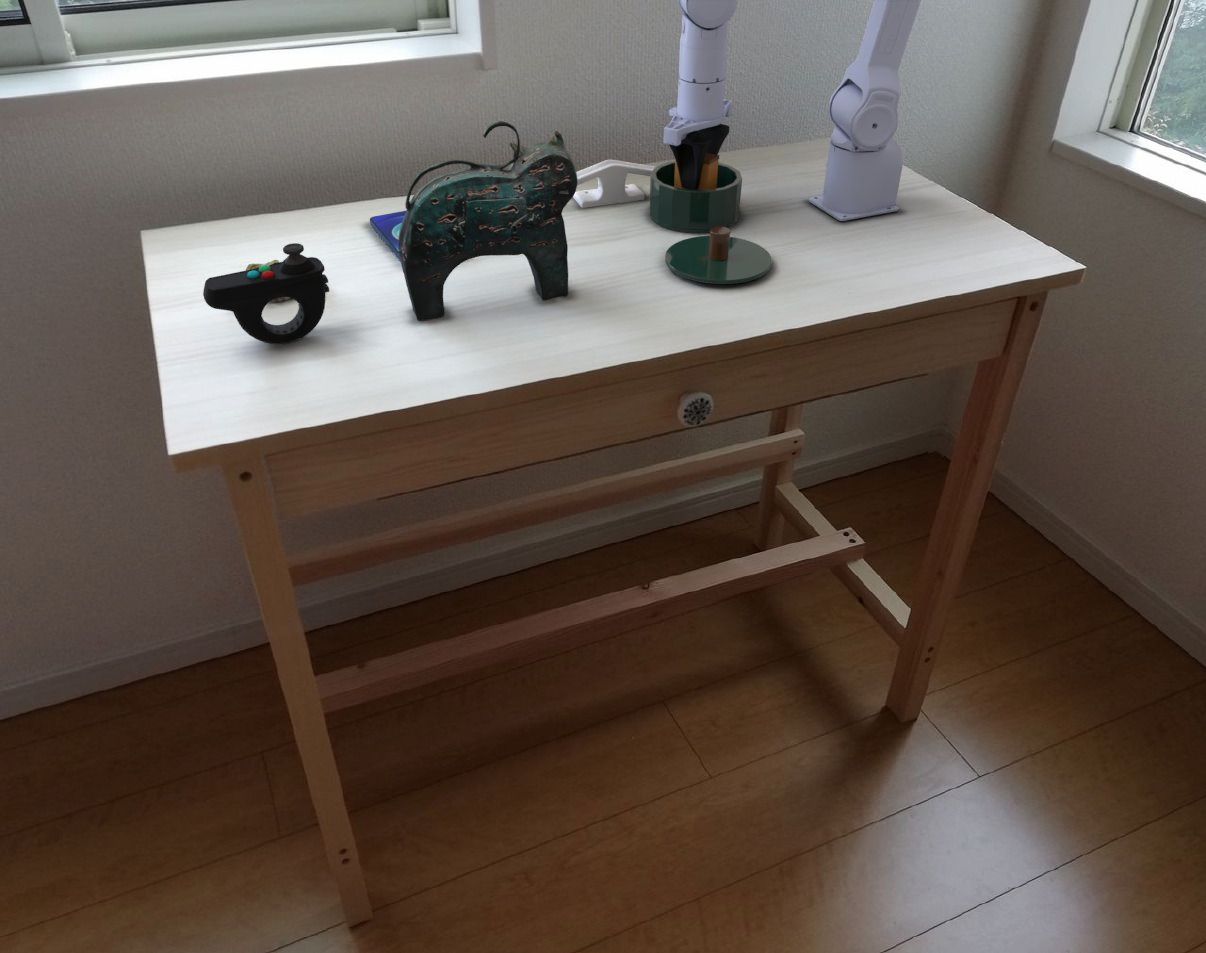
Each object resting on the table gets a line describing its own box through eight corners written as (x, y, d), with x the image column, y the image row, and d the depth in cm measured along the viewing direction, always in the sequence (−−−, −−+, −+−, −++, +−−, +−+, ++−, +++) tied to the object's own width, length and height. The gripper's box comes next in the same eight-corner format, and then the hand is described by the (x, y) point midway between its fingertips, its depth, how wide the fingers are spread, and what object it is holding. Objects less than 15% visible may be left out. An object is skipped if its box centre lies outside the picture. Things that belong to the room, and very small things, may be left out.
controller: (341, 336, 107) (325, 249, 101) (222, 363, 103) (198, 273, 97) (330, 319, 110) (314, 234, 104) (215, 344, 106) (191, 256, 100)
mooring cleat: (535, 202, 138) (533, 163, 134) (670, 184, 143) (671, 146, 140) (543, 213, 135) (542, 173, 131) (681, 194, 140) (682, 155, 137)
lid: (737, 236, 128) (740, 203, 125) (790, 277, 119) (795, 241, 116) (647, 253, 124) (648, 219, 121) (695, 296, 115) (697, 260, 112)
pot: (711, 193, 140) (714, 154, 137) (754, 224, 131) (758, 183, 128) (635, 206, 136) (636, 166, 133) (674, 238, 128) (676, 197, 124)
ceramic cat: (569, 278, 118) (566, 105, 106) (588, 302, 114) (586, 124, 102) (403, 305, 113) (379, 126, 101) (415, 331, 108) (391, 146, 96)
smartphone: (422, 207, 134) (461, 247, 123) (423, 213, 134) (462, 254, 123) (367, 217, 131) (402, 259, 120) (368, 224, 131) (403, 266, 121)
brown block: (716, 195, 132) (719, 154, 129) (706, 202, 130) (709, 160, 127) (683, 188, 134) (685, 147, 131) (673, 194, 132) (674, 153, 129)
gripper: (701, 59, 130) (695, 162, 138) (643, 86, 120) (640, 195, 128) (750, 67, 127) (741, 172, 135) (695, 95, 117) (688, 207, 125)
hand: (695, 184), depth 131 cm, fingers closed on brown block, 2 cm apart
